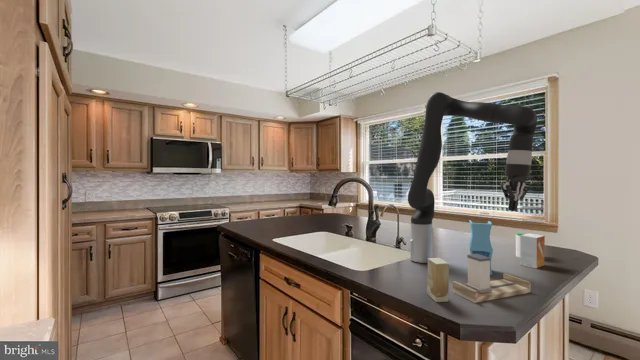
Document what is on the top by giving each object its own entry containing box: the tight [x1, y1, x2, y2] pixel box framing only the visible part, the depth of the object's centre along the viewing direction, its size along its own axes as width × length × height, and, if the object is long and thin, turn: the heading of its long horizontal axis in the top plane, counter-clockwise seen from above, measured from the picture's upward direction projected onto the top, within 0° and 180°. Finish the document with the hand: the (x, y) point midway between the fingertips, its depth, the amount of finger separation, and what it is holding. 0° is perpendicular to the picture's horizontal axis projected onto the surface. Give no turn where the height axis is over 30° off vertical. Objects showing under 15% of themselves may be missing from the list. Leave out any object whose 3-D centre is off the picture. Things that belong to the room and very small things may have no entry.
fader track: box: [452, 272, 532, 304], centre depth 97 cm, size 24×9×4 cm, turn 108°
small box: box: [519, 232, 546, 269], centre depth 125 cm, size 8×6×13 cm
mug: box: [515, 233, 525, 258], centre depth 138 cm, size 12×8×10 cm, turn 100°
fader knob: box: [464, 254, 492, 293], centre depth 95 cm, size 5×6×11 cm
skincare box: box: [426, 257, 450, 303], centre depth 93 cm, size 6×4×12 cm
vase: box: [468, 219, 494, 276], centre depth 118 cm, size 8×8×20 cm
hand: (512, 210), depth 106 cm, fingers closed
